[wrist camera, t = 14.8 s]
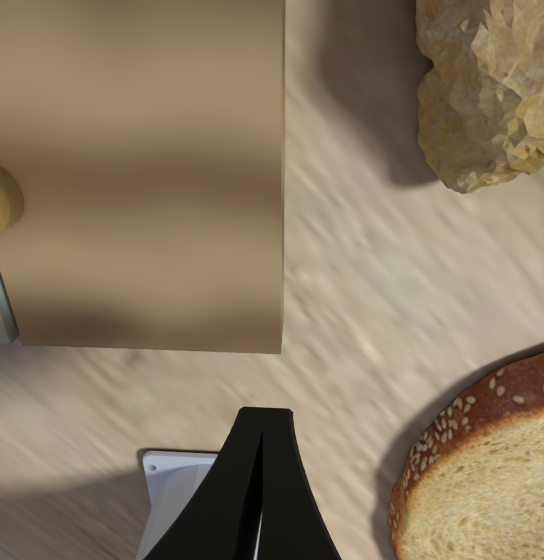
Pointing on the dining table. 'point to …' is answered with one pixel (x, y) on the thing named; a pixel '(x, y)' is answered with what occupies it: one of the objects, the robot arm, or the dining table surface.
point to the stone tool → (481, 90)
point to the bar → (9, 201)
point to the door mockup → (144, 173)
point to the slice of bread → (477, 474)
